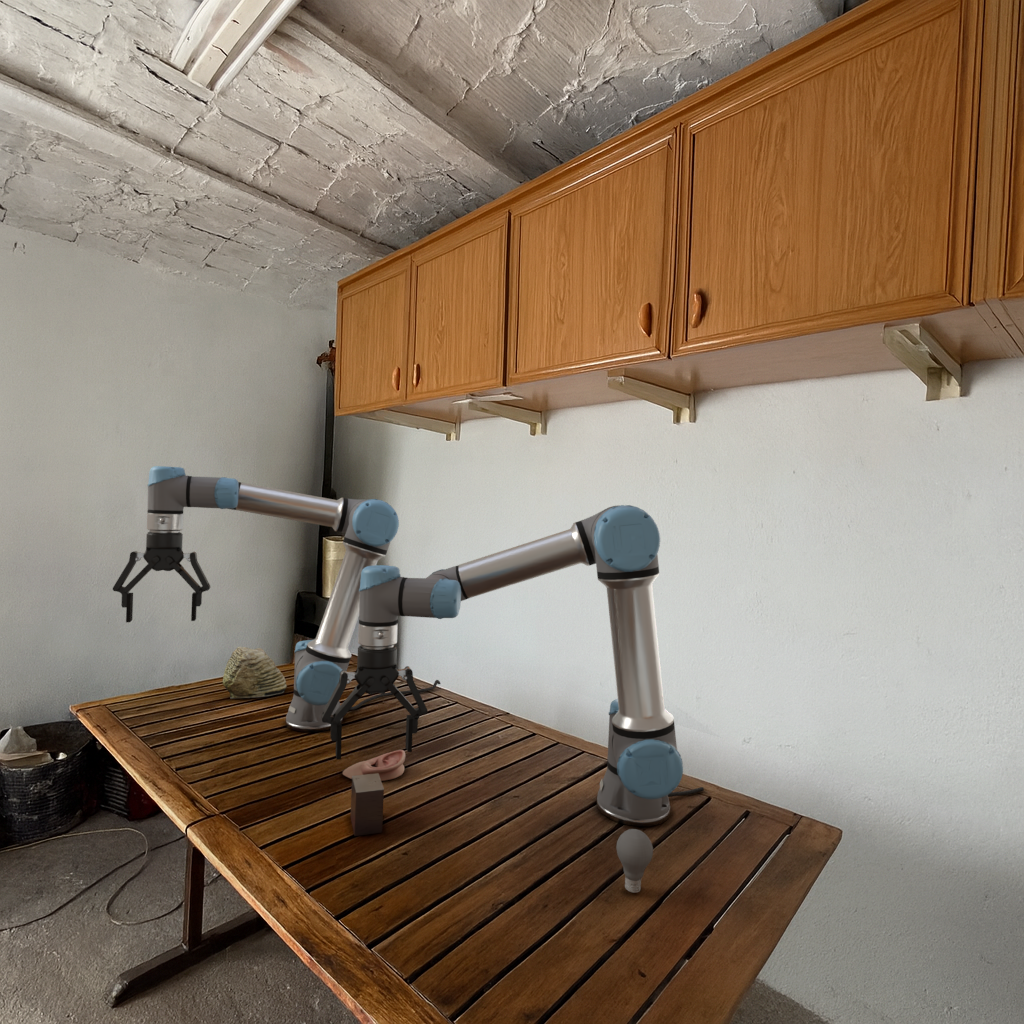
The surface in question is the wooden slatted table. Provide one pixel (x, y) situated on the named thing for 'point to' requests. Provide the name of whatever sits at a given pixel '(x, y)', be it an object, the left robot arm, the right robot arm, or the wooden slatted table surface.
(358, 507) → the left robot arm
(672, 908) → the wooden slatted table surface
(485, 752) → the wooden slatted table surface
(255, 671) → the fossil
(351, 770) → the anatomical model
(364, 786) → the block
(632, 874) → the light bulb
